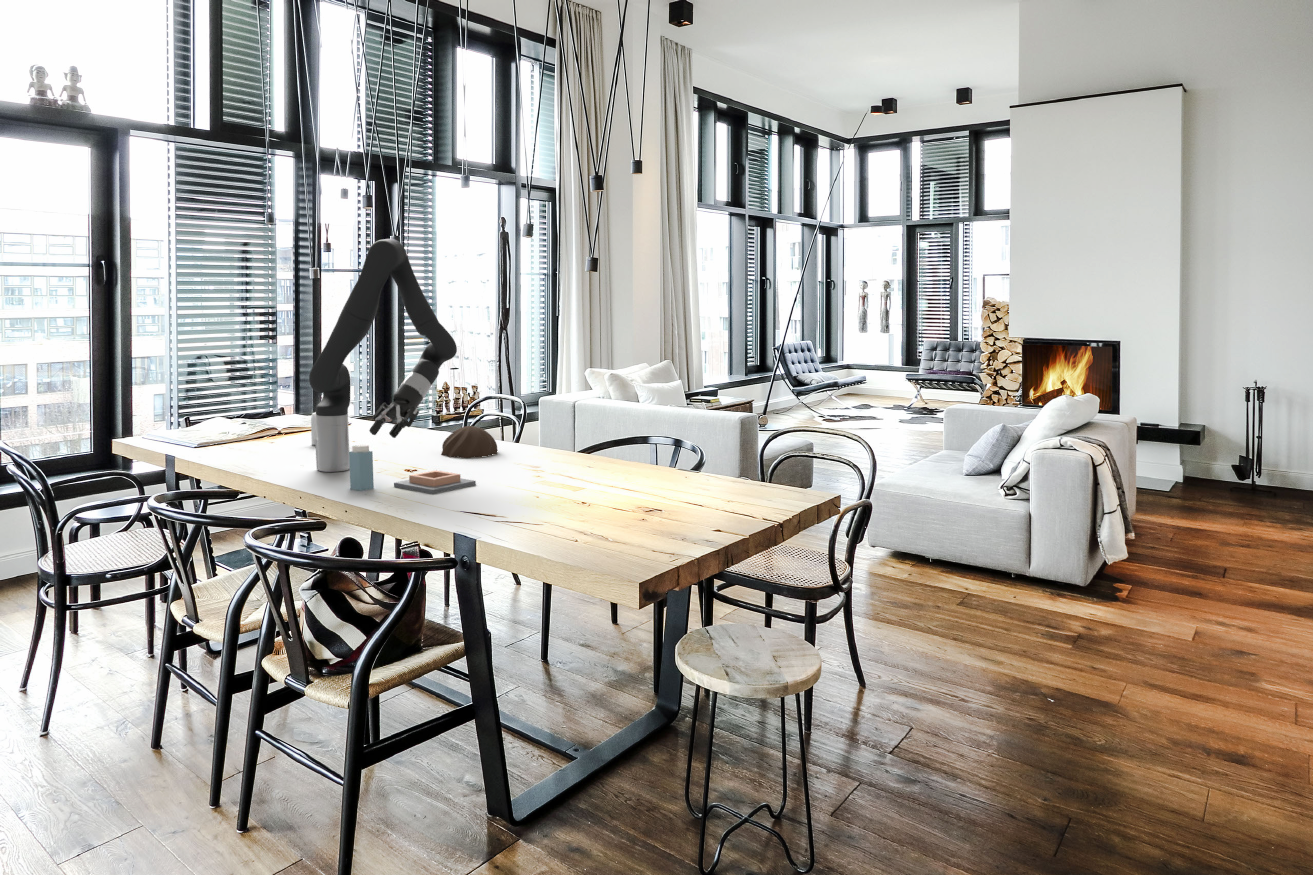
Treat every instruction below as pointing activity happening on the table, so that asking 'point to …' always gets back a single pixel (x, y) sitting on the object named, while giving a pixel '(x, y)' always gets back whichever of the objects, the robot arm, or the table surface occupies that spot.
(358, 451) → the ball-topped blue post
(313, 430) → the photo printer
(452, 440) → the decorative dome
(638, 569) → the table surface
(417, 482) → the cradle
